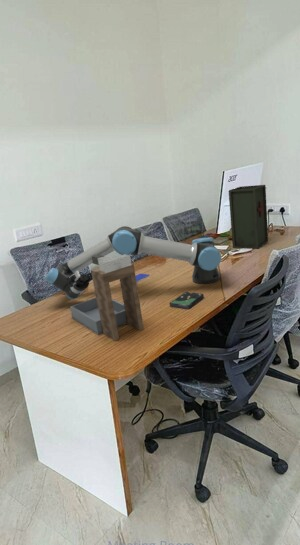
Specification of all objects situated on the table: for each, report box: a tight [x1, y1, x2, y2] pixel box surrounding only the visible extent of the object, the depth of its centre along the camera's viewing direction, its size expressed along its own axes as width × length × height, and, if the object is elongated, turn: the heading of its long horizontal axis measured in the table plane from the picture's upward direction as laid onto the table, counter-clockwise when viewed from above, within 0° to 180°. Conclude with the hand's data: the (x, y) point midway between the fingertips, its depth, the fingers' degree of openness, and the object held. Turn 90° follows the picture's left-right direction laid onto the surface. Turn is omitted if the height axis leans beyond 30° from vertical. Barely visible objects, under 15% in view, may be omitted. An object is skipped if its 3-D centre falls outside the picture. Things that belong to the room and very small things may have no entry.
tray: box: [69, 297, 127, 336], centre depth 170 cm, size 27×18×6 cm, turn 35°
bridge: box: [90, 263, 145, 342], centre depth 151 cm, size 10×14×28 cm
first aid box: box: [228, 184, 269, 250], centre depth 256 cm, size 18×18×40 cm
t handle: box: [92, 254, 132, 273], centre depth 150 cm, size 19×12×4 cm, turn 35°
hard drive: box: [135, 273, 151, 283], centre depth 223 cm, size 2×8×12 cm
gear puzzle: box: [199, 232, 232, 241], centre depth 297 cm, size 31×16×4 cm, turn 49°
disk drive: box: [169, 291, 205, 310], centre depth 176 cm, size 10×3×15 cm
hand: (92, 269), depth 164 cm, fingers open, 13 cm apart
